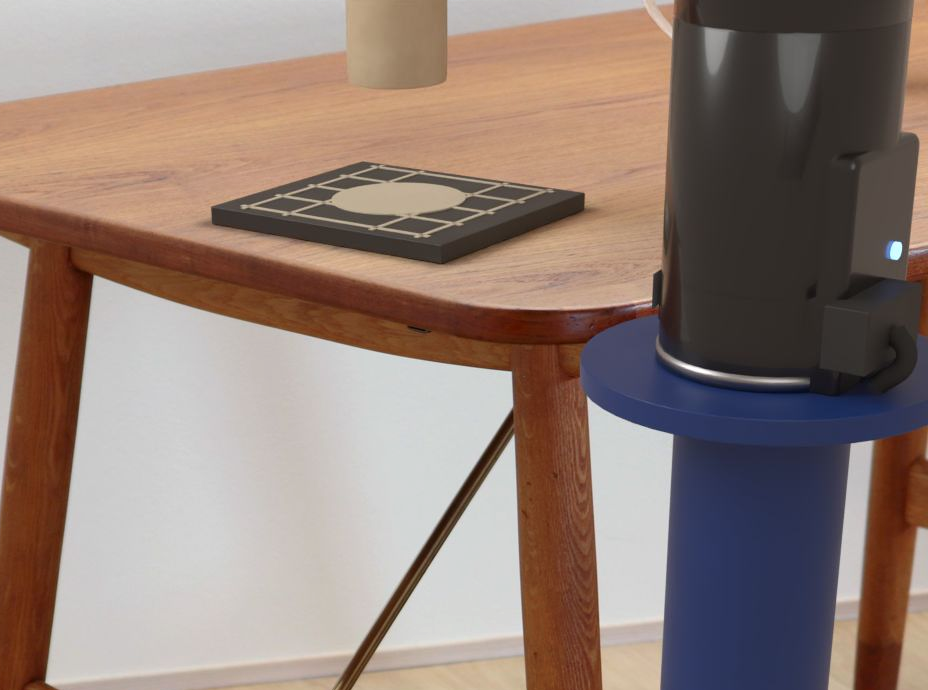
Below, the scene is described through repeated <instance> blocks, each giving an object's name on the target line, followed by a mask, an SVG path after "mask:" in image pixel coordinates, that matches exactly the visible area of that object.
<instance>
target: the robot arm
mask: <svg viewBox="0 0 928 690" xmlns="http://www.w3.org/2000/svg"><path fill="white" fill-rule="evenodd" d="M914 5H915V0H673V17H672V27H673V31H672V39H671V56H670V74H669V75H670V76H669V96H668V97H669V100H668V118H667V119H668V120H667V138H666V160H665V161H666V162H665V180H664V181H665V183H664V201H663V202H664V204H663V223H662V224H663V226H662V242H661V243H662V245H661V265H660V267H661V268H660V269H659V270H658V271H656V272H654V273H653V275H652V293H651V295H652V296H651V310H654V309H655V308H656V307H658V313H657V314H658V319H659V334H658V336H657V338H656V348H655V357H656V360H657V361H658V363H659V364H660V365H661V366H662V367H663V368H665V369H666V370H668V371H669V372H671V373H673V374H675V375H677V376H680V377H682V378H685V379H687V380H691V381H694V382H697V383H701V384H704V385H709V386H714V387H719V388H724V389H731V390H739V391H747V392H763V393H814V394H820V395H825V396H831V397H835V396H840V395H841V394H843V393H844V392H846V391H848V390H849V389H851V388H853V387H854V386H856V385H858V384H859V383H861V382H862V381H864V380H866V379H868V378H870V379H869V380H870V383H871V385H872V386H873V387H874V388H875V389H876V390H877V391H878V392H880V393H885V392H887V391H888V390H890V389H891V388H893V387H895V386H897V385H899V384H900V383H902V382H903V381H905V380H906V379H907V378H908V377H909V376H910V375H911V374H912V372H913V370H914V368H915V366H916V363H917V358H918V351H917V347H916V345H917V337H918V334H919V327H920V317H921V310H922V309H921V308H922V298H923V289H924V284H923V283H922V282H916V281H910V280H907V273H908V264H909V256H910V255H909V253H910V243H911V234H912V225H913V217H914V215H913V214H914V207H915V196H916V195H915V194H916V186H917V176H918V167H919V156H920V143H921V142H920V138H919V136H918V135H917V134H916V133H915V132H911V131H902V129H903V119H904V109H905V99H906V88H907V77H908V68H909V56H910V45H911V35H912V27H913V25H912V24H913V16H914V8H915V7H914Z"/></svg>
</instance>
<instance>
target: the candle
mask: <svg viewBox="0 0 928 690" xmlns="http://www.w3.org/2000/svg"><path fill="white" fill-rule="evenodd" d="M345 35H346V39H345V41H346V72H347V80H348V84H350V85H351V86H354V87H358V88H362V89H370V90H384V91H385V90H387V91H391V90H392V91H399V90H400V91H401V90H413V89H414V90H415V89H423V88H430V87H434V86H438V85H441V84H444V83H445V82H446V81H447V77H448V0H345Z"/></svg>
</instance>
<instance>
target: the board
mask: <svg viewBox="0 0 928 690" xmlns="http://www.w3.org/2000/svg"><path fill="white" fill-rule="evenodd" d="M585 203H586V193H585V192H584V191H575V190H569V189H568V190H567V189H563V188H561V189H560V188H554V187H547V186H539V185H533V184H526V183H518V182H512V181H504V180H499V179H498V180H497V179H490V178H484V177H476V176H470V175H469V176H468V175H462V174H456V173H448V172H443V171H436V170H435V171H433V170H427V169H419V168H414V167H413V168H412V167H407V166H406V167H405V166H398V165H391V164H384V163H378V162H371V161H363V160H362V161H359V162H355V163H352V164H349V165H345V166H342V167H339V168H338V167H337V168H335V169H332V170H329V171H325V172H321V173H319V174H316V175H315V174H314V175H312V176H308V177H305V178H302V179H298V180H295V181H292V182H289V183H285V184H282V185H278V186H275V187H271V188H268V189H265V190H262V191H259V192H254V193H251V194H248V195H245V196H241V197H238V198H235V199H232V200H228V201H225V202H222V203H218V204H215V205H211V207H210V213H211V214H210V215H211V224H212V225H218V226H224V227H230V228H234V229H242V230H246V231H252V232H257V233H264V234H268V235H269V234H270V235H275V236H281V237H286V238H293V239H299V240H304V241H310V242H314V243H315V242H316V243H322V244H327V245H333V246H338V247H344V248H349V249H354V250H355V249H356V250H361V251H367V252H372V253H379V254H383V255H390V256H394V257H395V256H396V257H402V258H407V259H411V260H412V259H413V260H418V261H424V262H429V263H435V264H441V265H442V264H444V263H447V262H450V261H452V260H455V259H458V258H461V257H463V256H466V255H468V254H471V253H473V252H476V251H479V250H482V249H484V248H487V247H489V246H492V245H495V244H497V243H500V242H503V241H505V240H509V239H511V238H513V237H516V236H518V235H522V234H524V233H527V232H530V231H533V230H534V229H537V228H540V227H543V226H546V225H548V224H551V223H553V222H556V221H559V220H561V219H564V218H566V217H569V216H571V215H574V214H577V213H580V212H582V211H584V210H585V209H586V208H585V206H586V204H585Z"/></svg>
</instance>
